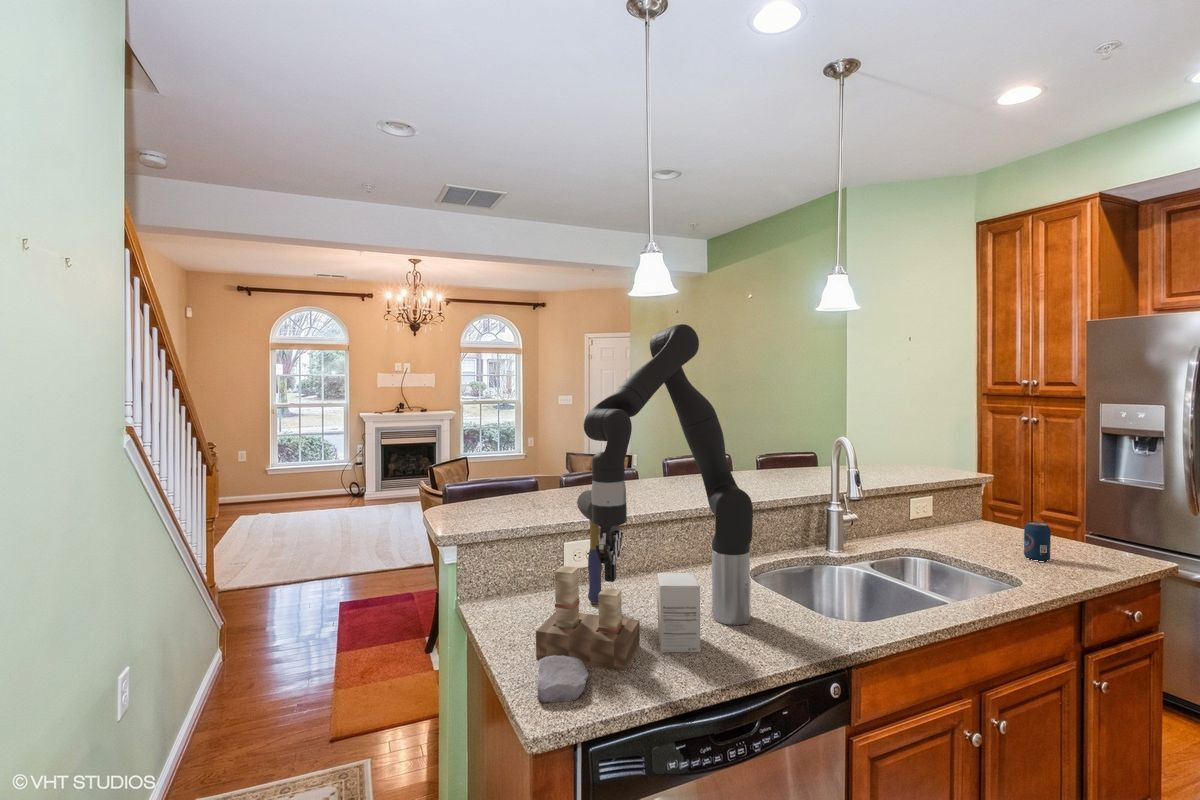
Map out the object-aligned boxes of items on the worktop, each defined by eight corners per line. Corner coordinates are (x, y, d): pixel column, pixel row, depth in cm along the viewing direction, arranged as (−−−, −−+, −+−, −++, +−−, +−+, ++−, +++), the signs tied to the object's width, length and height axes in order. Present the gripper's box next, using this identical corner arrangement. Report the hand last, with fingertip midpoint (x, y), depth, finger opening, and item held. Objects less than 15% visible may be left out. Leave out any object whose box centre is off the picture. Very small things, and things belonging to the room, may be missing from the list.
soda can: (1019, 556, 194) (1019, 520, 194) (1042, 556, 193) (1042, 521, 193) (1031, 562, 187) (1032, 525, 187) (1055, 563, 186) (1055, 526, 186)
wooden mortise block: (639, 646, 130) (639, 620, 130) (625, 671, 119) (625, 643, 119) (557, 635, 137) (557, 610, 136) (536, 658, 125) (535, 630, 125)
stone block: (582, 679, 120) (535, 672, 119) (587, 656, 120) (539, 649, 119) (586, 713, 108) (533, 706, 107) (591, 688, 108) (538, 681, 107)
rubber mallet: (615, 609, 152) (614, 495, 151) (588, 612, 150) (586, 497, 149) (602, 593, 164) (600, 487, 163) (576, 596, 162) (575, 489, 161)
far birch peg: (579, 624, 130) (579, 567, 130) (573, 632, 127) (572, 573, 126) (562, 622, 132) (561, 565, 131) (555, 629, 128) (554, 571, 127)
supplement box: (657, 635, 136) (656, 571, 136) (695, 635, 136) (695, 572, 136) (659, 652, 127) (659, 585, 127) (700, 653, 127) (700, 585, 126)
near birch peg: (622, 647, 127) (621, 589, 127) (617, 656, 123) (616, 596, 123) (604, 645, 129) (603, 587, 128) (598, 653, 125) (597, 594, 124)
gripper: (617, 508, 118) (618, 592, 118) (633, 495, 130) (635, 572, 131) (582, 506, 120) (584, 589, 120) (601, 494, 132) (603, 569, 133)
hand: (610, 580), depth 125 cm, fingers closed
